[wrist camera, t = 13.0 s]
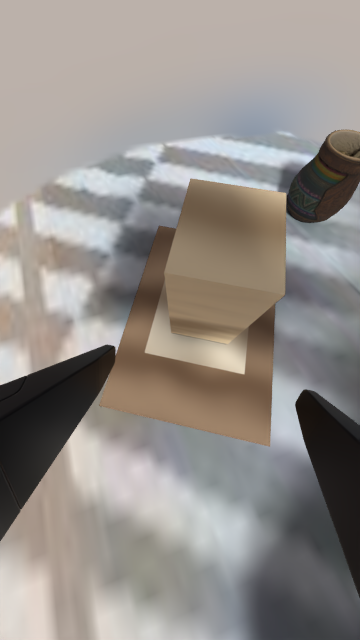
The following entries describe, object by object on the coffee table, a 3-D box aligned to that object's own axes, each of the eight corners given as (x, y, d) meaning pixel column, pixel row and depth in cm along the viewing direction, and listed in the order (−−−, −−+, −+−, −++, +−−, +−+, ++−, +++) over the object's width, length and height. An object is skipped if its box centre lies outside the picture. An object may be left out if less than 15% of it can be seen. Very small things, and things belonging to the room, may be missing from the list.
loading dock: (256, 438, 17) (271, 447, 14) (109, 403, 17) (98, 405, 15) (267, 260, 23) (278, 244, 21) (160, 241, 24) (158, 224, 22)
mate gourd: (270, 199, 27) (318, 102, 18) (314, 189, 28) (381, 92, 19) (294, 235, 25) (364, 145, 16) (341, 223, 26) (434, 131, 17)
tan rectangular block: (224, 346, 17) (285, 295, 7) (171, 335, 17) (164, 272, 8) (231, 290, 19) (286, 193, 9) (184, 281, 19) (190, 178, 10)
